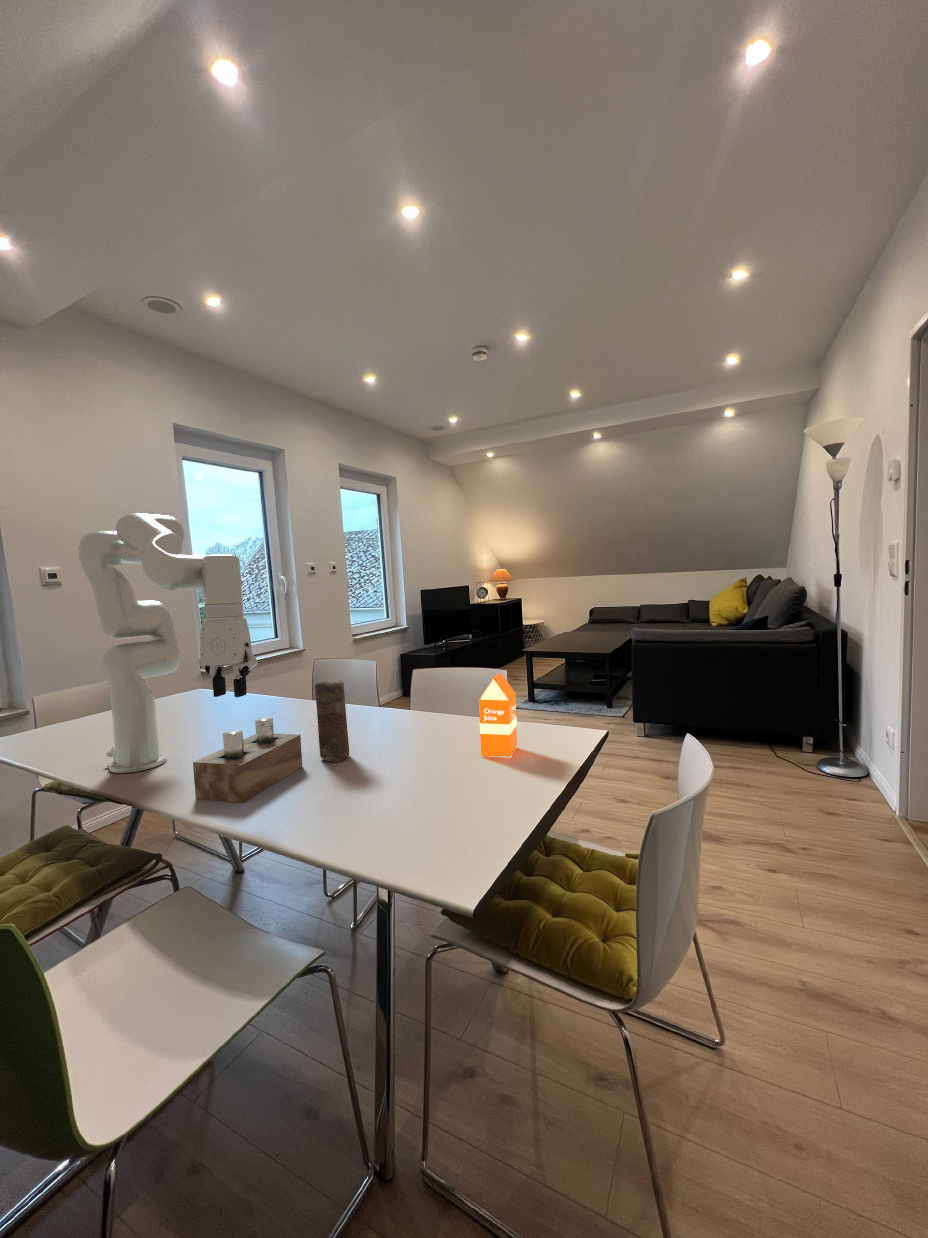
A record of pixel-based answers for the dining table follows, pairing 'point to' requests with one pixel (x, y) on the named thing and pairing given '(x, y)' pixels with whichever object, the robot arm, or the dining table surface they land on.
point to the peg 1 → (233, 744)
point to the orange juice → (498, 719)
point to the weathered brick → (332, 721)
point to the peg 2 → (264, 730)
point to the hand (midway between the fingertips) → (230, 695)
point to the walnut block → (247, 769)
